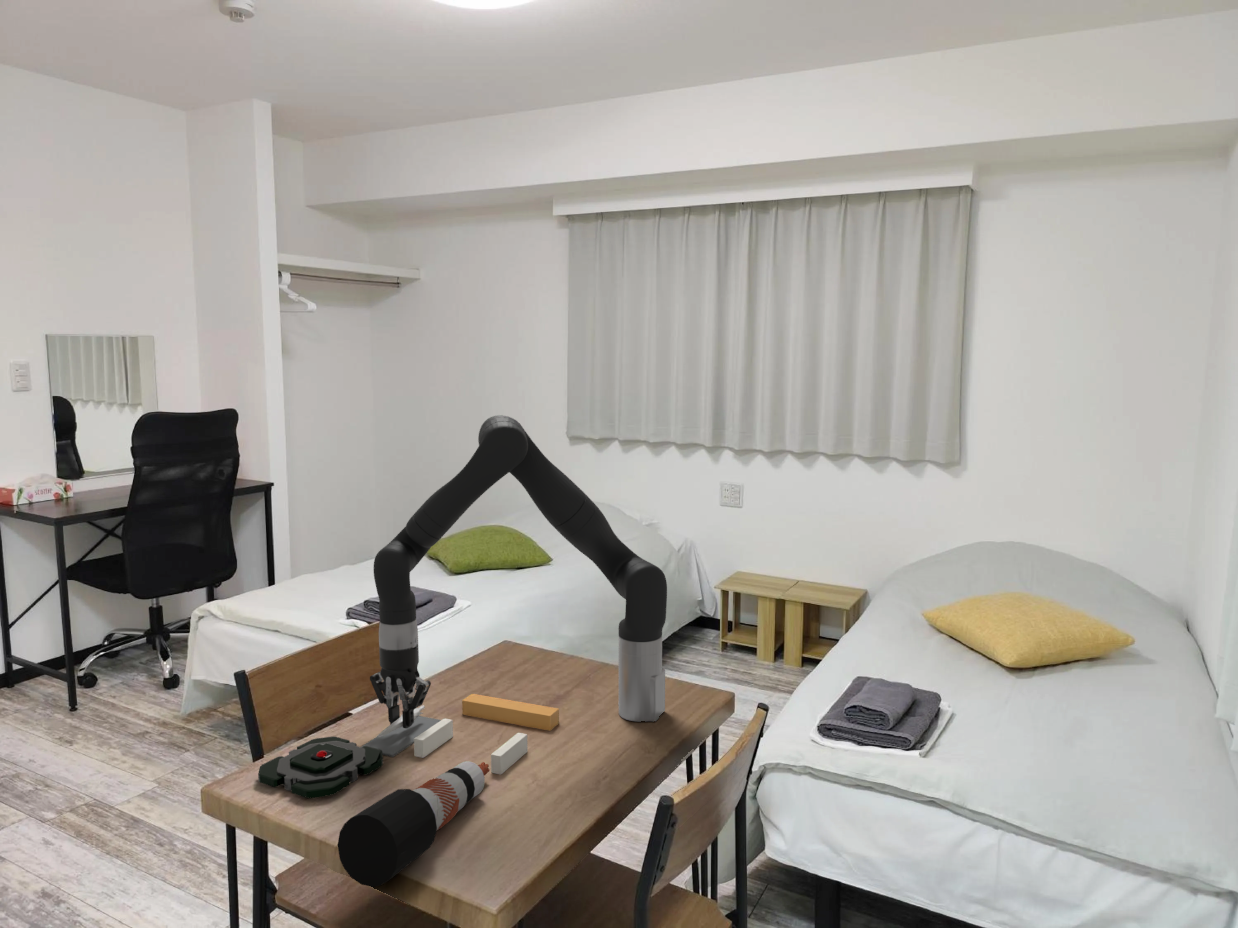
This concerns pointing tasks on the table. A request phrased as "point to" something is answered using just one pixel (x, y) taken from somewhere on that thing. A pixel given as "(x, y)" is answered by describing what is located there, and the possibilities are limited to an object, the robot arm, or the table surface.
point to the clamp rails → (444, 732)
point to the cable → (405, 824)
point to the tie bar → (510, 711)
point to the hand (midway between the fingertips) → (401, 725)
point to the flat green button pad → (320, 767)
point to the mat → (401, 736)
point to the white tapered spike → (400, 722)
